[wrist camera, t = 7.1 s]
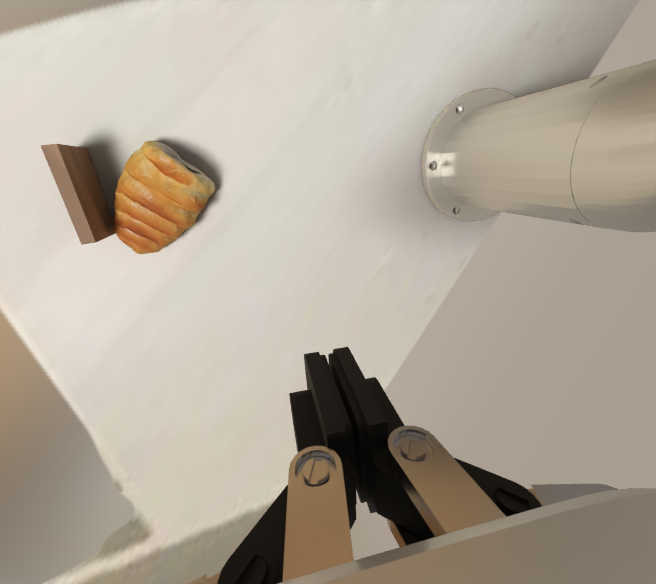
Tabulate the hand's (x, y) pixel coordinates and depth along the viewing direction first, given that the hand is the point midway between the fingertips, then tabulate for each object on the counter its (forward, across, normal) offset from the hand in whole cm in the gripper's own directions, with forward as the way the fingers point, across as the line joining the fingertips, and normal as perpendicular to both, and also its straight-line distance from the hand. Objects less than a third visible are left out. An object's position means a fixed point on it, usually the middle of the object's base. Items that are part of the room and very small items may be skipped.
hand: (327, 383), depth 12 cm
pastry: (+23, +10, -6) cm, 26 cm away
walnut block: (+23, +15, -7) cm, 28 cm away
